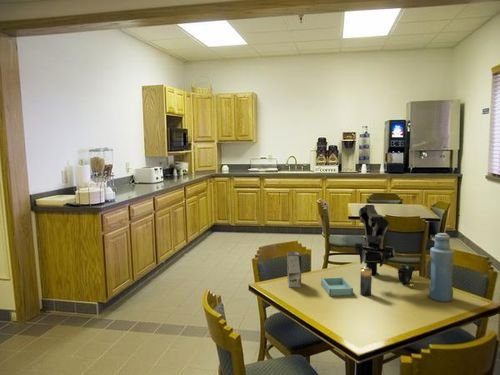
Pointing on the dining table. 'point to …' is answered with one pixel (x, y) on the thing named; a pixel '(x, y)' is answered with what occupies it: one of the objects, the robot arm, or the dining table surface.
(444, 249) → the bottle
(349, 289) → the tray
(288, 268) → the coffee box
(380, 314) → the dining table surface
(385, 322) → the dining table surface
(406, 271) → the controller
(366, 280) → the cylinder
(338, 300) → the dining table surface
